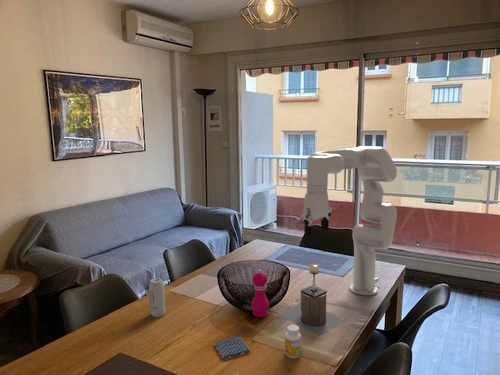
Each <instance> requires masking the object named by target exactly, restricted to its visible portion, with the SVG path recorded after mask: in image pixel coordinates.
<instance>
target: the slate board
mask: <svg viewBox="0 0 500 375" xmlns="http://www.w3.org/2000/svg"><path fill="white" fill-rule="evenodd" d="M277 315H280V316H282V317H283V318H286V319H287V320H289V321H291V322H293V323H295V325H296V324H297V326H298V325H299V327H303V328H304V329H306V330H308V331H310V332H312V333H314V334H315V335H318V336H322V335H324V334H325V333H327V332H329V331H331V330H333V329H334V328H337V327H338V326H340V325H341V324H343V323H345V322H347V320H346V319H343V318H341V317H339V316H337V315H334V314H333V313H330V312H328V311H326V323H325V324H324V325H321V326H309V325H306V324H304V323H303V322H302V321H301V316H302V311H301V302H300V303H298V304H295V305H293V306H291V307H288V308H287V309H284V310H282V311H280V312H278V313H277Z"/></svg>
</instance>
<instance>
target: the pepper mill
mask: <svg viewBox="0 0 500 375" xmlns="http://www.w3.org/2000/svg"><path fill="white" fill-rule="evenodd" d="M252 282H253V289H254V291H255V292H254V296H255V297H253V299H252V301H251V305H250V306H251V307H250V308H251V310H252V315H253V316H255V317H256V318H257V317H258V318H262V317H266V316H267V315H269V312H268V310H269V308H270V303H269V302H270V301H269V300H268V297H267V295H266V289H267V282H268V276H267V274H266V273H264V272H263V270H262V269H261V268H259V269H258V270H257V272H256V273H254V274H253V276H252ZM253 310H254V311H253Z"/></svg>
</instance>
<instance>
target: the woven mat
mask: <svg viewBox="0 0 500 375" xmlns="http://www.w3.org/2000/svg"><path fill="white" fill-rule="evenodd" d="M213 346H214V347H215V348H216V349H215V350H217V351H218V353H217V354H219V355H220V356H221V359H223V361H227V360H231V359H235V358H237V357H241V356H244V355H245V356H246V355H247V354H251V348H250V347H249V346H248V344H247V343H245V341H244V340H243V339H242V338H241V336H239V335H238V336H237V335H235V337H234V336H231V337H230V338H229V337H227V338H223V339H222V340H221V339H219V340H218V341H216V340H214V344H213Z"/></svg>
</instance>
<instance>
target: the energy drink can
mask: <svg viewBox="0 0 500 375" xmlns="http://www.w3.org/2000/svg"><path fill="white" fill-rule="evenodd" d="M148 294H149V310H150V315H151V316H152V317H153V318H161V317H163V316H165V313H166V297H165V294H166V293H165V283H164V281H163V279H162V278H160V277H155V278H152V279H150V281H149V284H148Z"/></svg>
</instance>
